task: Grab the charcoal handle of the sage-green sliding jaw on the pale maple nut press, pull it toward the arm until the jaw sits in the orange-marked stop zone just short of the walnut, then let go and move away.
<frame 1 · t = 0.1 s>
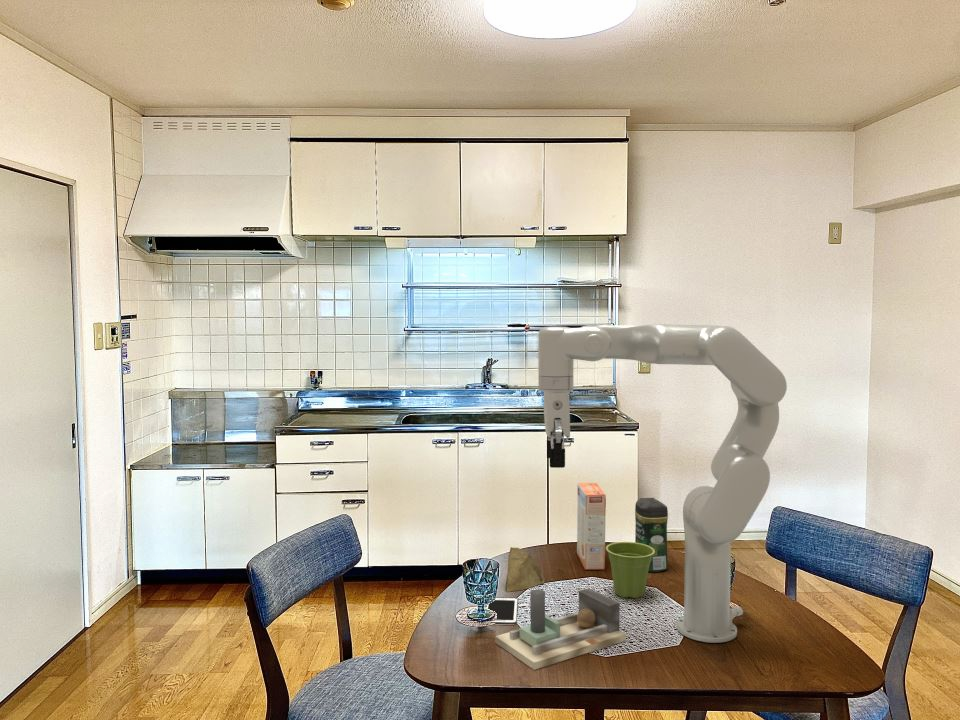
hand: (555, 462, 161), 37 cm above the table, tool pointing down, fingers open, 9 cm apart
coffee jar: (650, 567, 202), on the table
press frame: (560, 641, 157), on the table
cell phone: (500, 614, 173), on the table
plant pot: (629, 594, 183), on the table
rock: (525, 587, 189), on the table
cracker box: (590, 562, 207), on the table
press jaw: (539, 615, 154), point 7 cm above the table, slide at 0.0 cm
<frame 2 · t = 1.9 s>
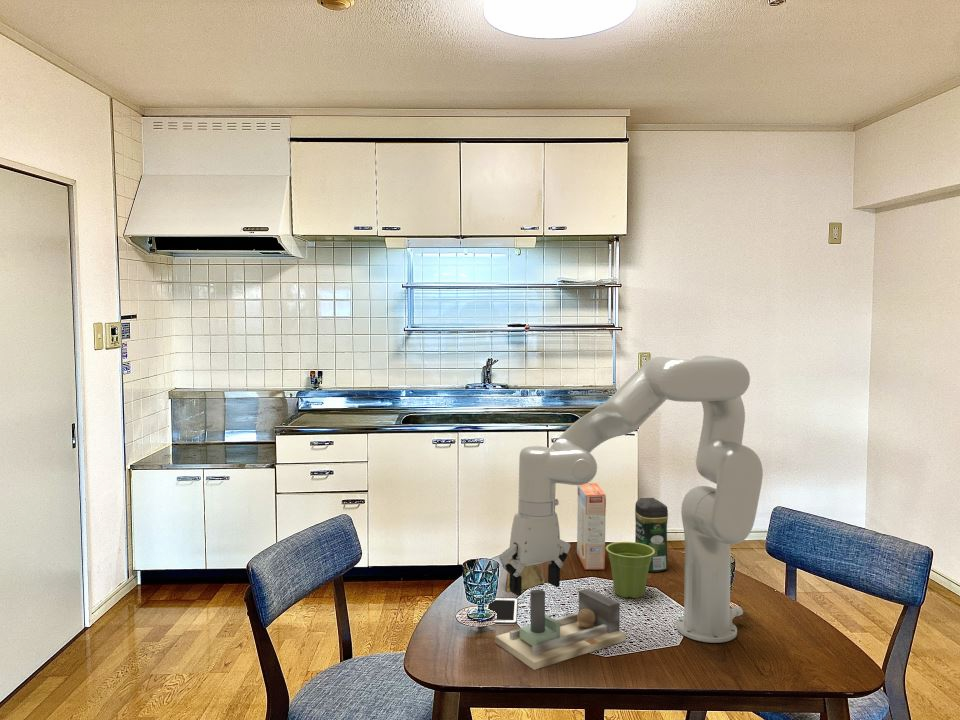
hand: (534, 589, 153), 13 cm above the table, tool pointing down, fingers open, 9 cm apart
nothing on the table moved.
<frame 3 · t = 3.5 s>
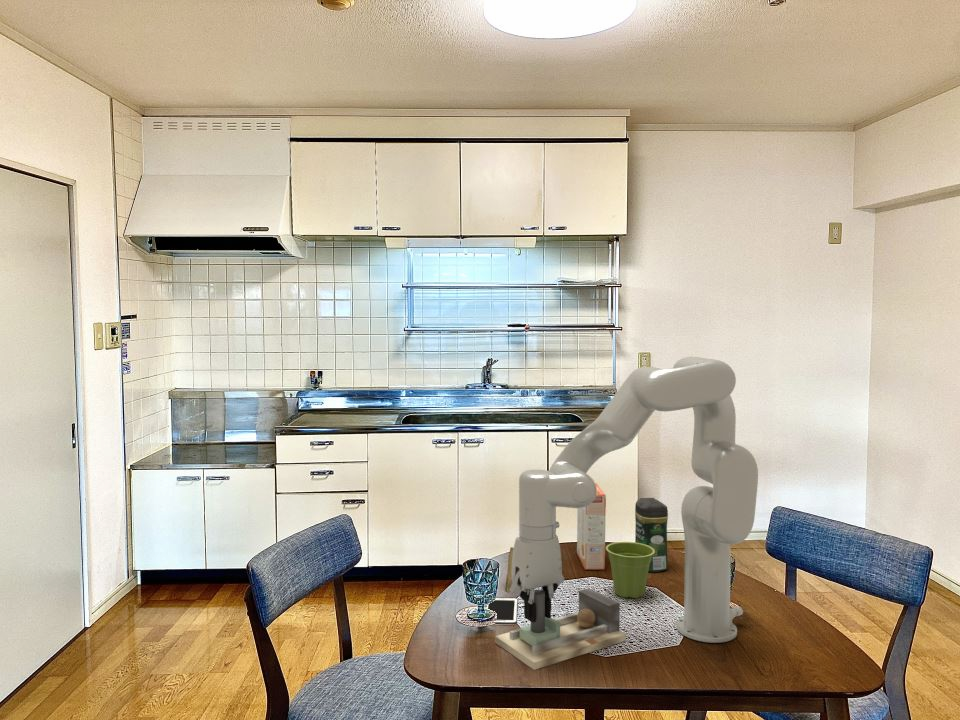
hand: (537, 617, 153), 7 cm above the table, tool pointing down, fingers closed on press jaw, 3 cm apart
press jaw: (539, 615, 154), point 7 cm above the table, slide at 0.0 cm, touching gripper
everything else where it was.
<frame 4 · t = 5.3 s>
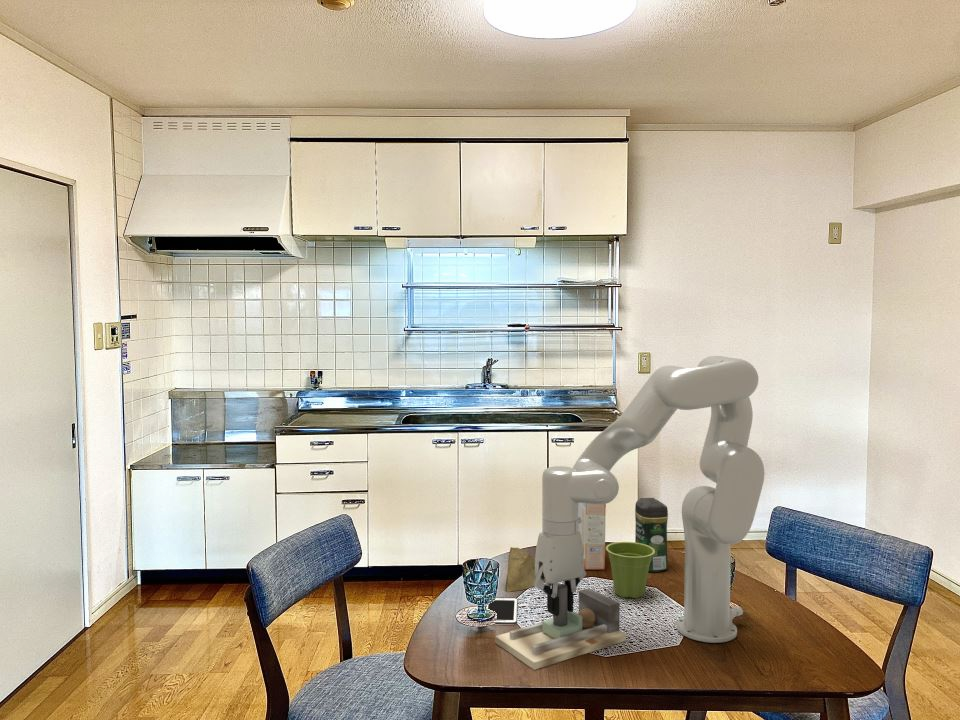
hand: (560, 611, 156), 7 cm above the table, tool pointing down, fingers closed on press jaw, 3 cm apart
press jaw: (562, 609, 157), point 7 cm above the table, slide at 5.9 cm, touching gripper
everything else where it was.
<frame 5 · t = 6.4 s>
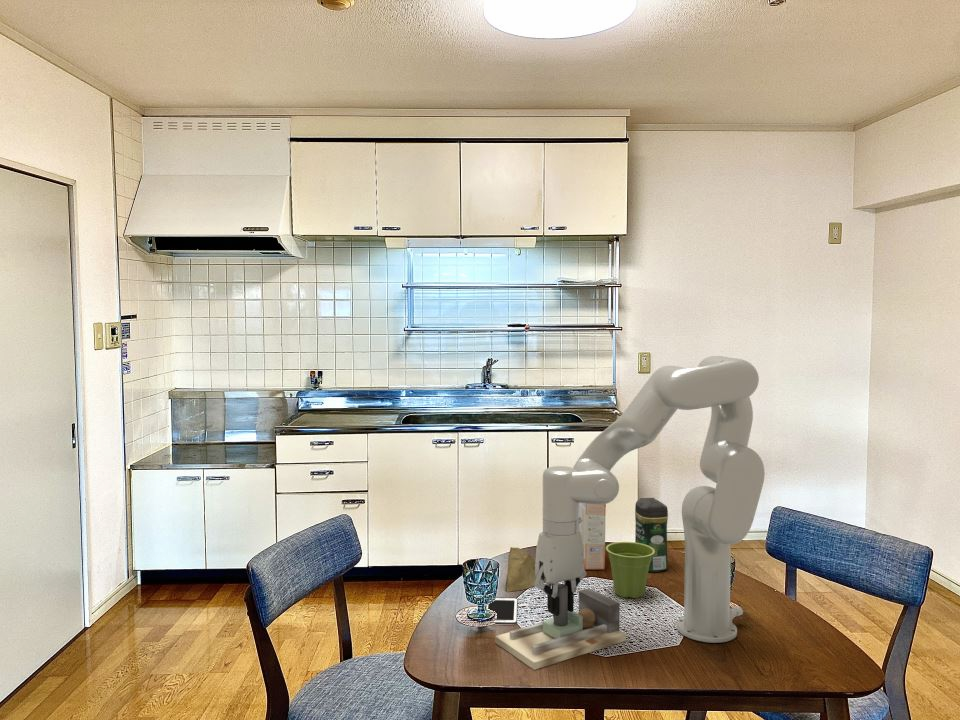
hand: (560, 610, 156), 7 cm above the table, tool pointing down, fingers closed on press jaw, 3 cm apart
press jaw: (562, 609, 157), point 7 cm above the table, slide at 6.0 cm, touching gripper
everything else where it was.
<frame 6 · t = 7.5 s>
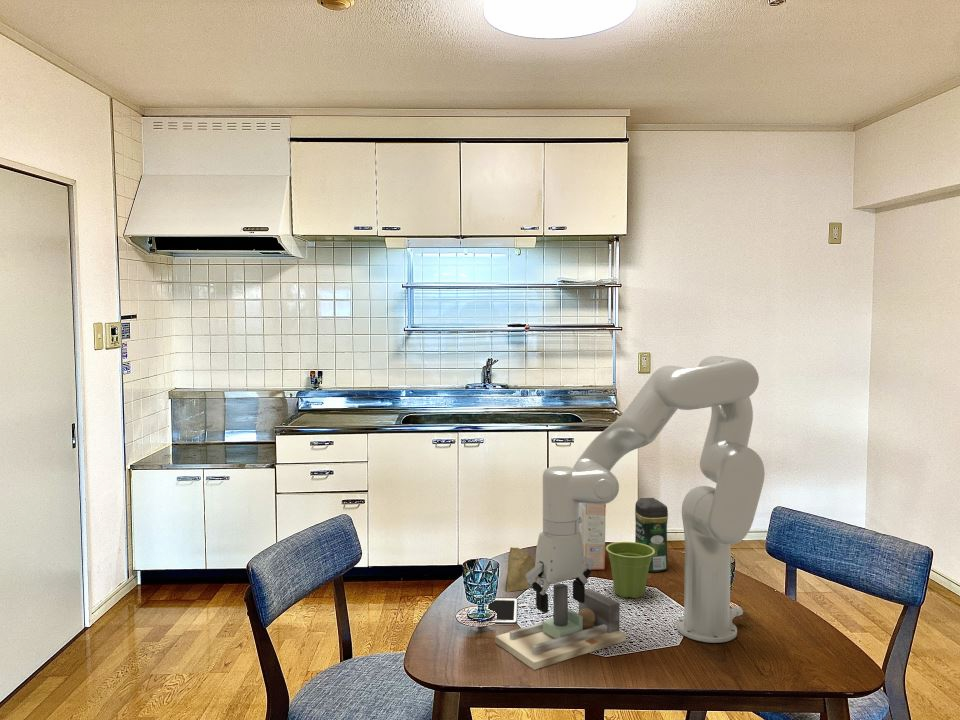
hand: (560, 605, 156), 8 cm above the table, tool pointing down, fingers open, 9 cm apart
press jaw: (562, 609, 157), point 7 cm above the table, slide at 6.0 cm
everything else where it was.
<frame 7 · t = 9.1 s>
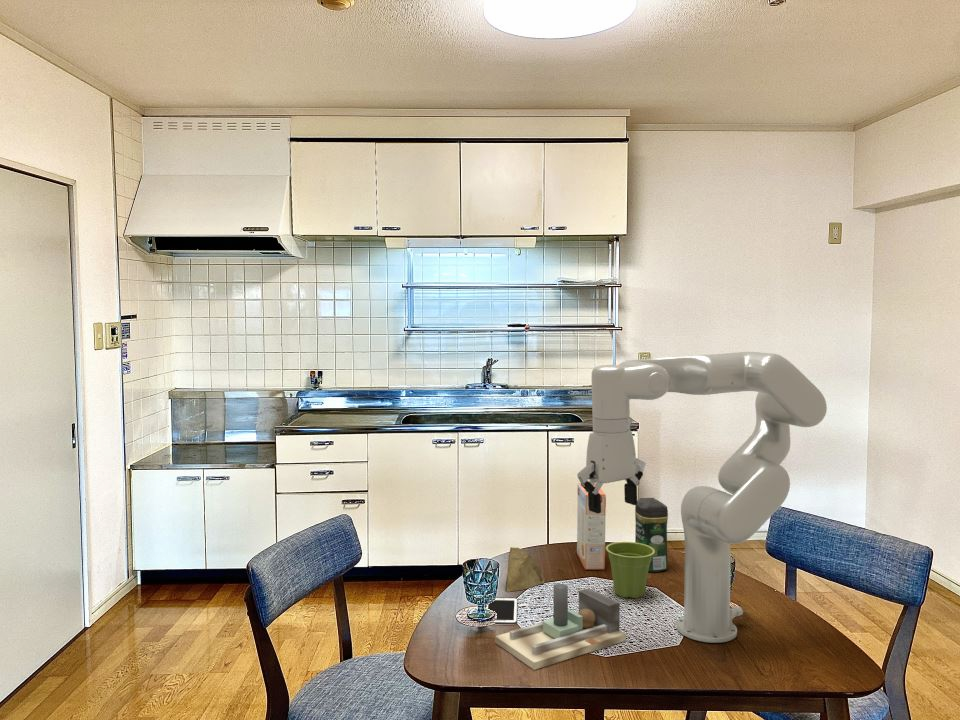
hand: (613, 507, 153), 29 cm above the table, tool pointing down, fingers open, 9 cm apart
nothing on the table moved.
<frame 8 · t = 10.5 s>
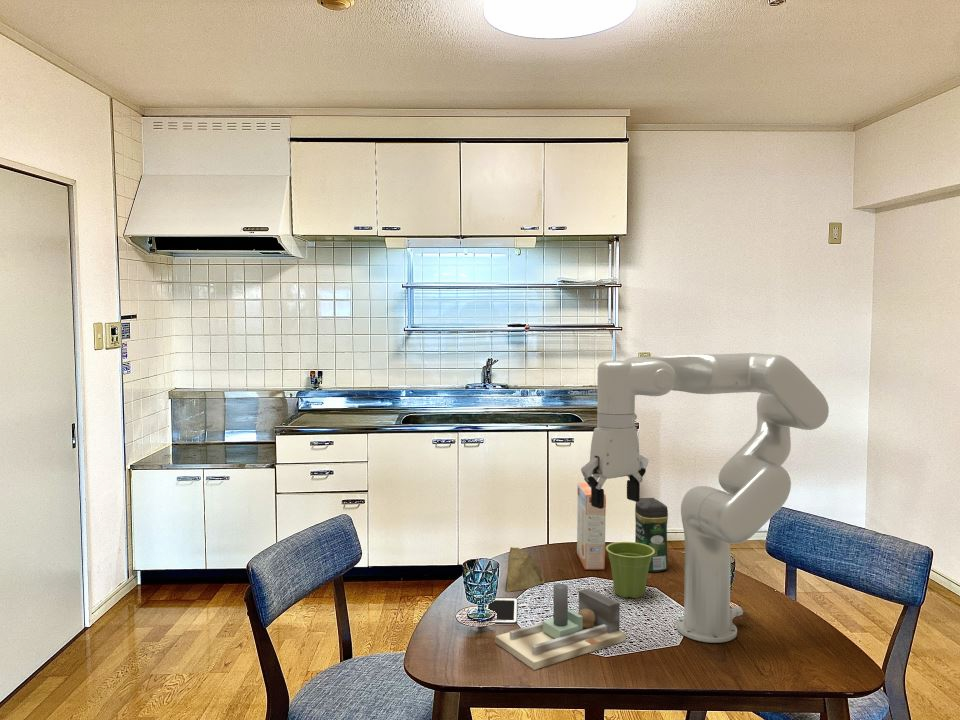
hand: (615, 503, 152), 30 cm above the table, tool pointing down, fingers open, 9 cm apart
nothing on the table moved.
at the end: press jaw slide at 6.0 cm; the gripper is holding nothing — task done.
